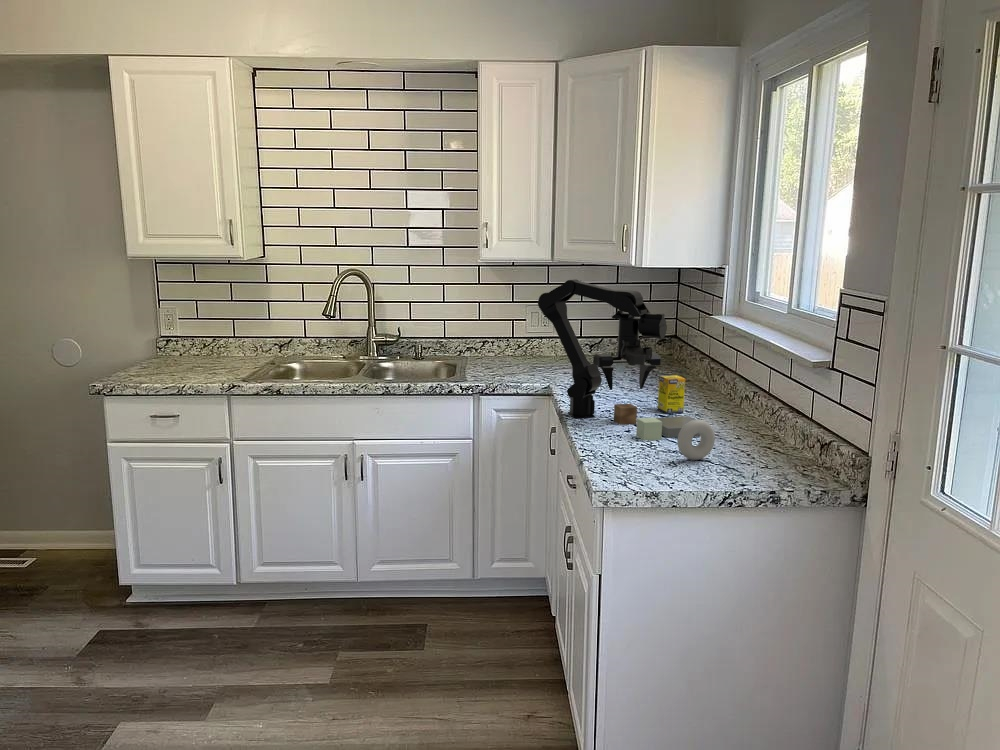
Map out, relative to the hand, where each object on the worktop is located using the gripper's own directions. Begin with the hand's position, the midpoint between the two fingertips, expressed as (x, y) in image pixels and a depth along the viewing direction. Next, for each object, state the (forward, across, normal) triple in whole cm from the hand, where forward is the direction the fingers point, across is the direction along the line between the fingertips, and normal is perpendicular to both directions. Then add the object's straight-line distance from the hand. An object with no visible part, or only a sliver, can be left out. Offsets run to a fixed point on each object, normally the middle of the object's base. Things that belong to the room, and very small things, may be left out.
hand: (626, 389), depth 219 cm
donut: (+10, +3, -38) cm, 39 cm away
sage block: (+10, 0, -17) cm, 20 cm away
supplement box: (+10, +19, +10) cm, 24 cm away
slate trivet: (+10, +11, -12) cm, 19 cm away
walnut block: (+10, 0, 0) cm, 10 cm away
